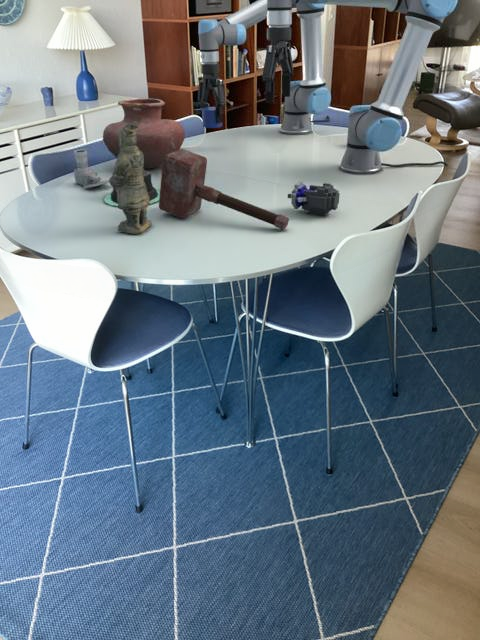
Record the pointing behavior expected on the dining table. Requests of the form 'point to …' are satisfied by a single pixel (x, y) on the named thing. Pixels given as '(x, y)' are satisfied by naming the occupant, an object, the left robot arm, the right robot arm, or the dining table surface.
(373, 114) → the right robot arm
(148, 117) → the clay pot
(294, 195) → the toy
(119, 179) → the statue
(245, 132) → the dining table surface
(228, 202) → the sledgehammer
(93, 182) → the grey boot
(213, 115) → the canister
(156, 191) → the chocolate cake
